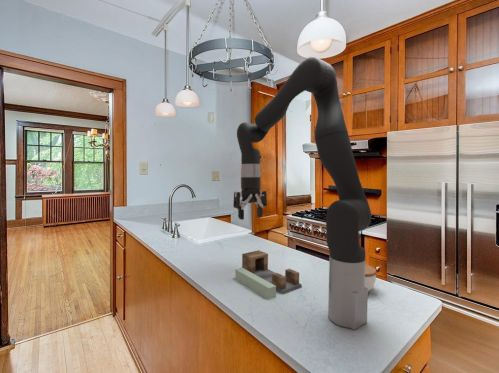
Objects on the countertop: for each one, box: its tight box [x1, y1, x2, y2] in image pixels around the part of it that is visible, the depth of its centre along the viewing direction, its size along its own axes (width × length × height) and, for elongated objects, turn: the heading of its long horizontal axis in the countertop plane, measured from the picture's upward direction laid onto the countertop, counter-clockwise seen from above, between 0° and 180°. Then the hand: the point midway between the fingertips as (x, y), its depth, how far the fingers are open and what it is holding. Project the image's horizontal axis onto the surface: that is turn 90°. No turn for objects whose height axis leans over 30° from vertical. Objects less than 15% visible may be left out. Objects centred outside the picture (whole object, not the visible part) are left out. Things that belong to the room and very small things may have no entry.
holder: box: [241, 249, 303, 295], centre depth 100 cm, size 24×9×8 cm, turn 37°
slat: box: [235, 267, 277, 300], centre depth 93 cm, size 20×3×4 cm, turn 35°
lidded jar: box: [365, 263, 377, 292], centre depth 91 cm, size 11×11×9 cm
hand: (250, 218), depth 102 cm, fingers open, 8 cm apart
